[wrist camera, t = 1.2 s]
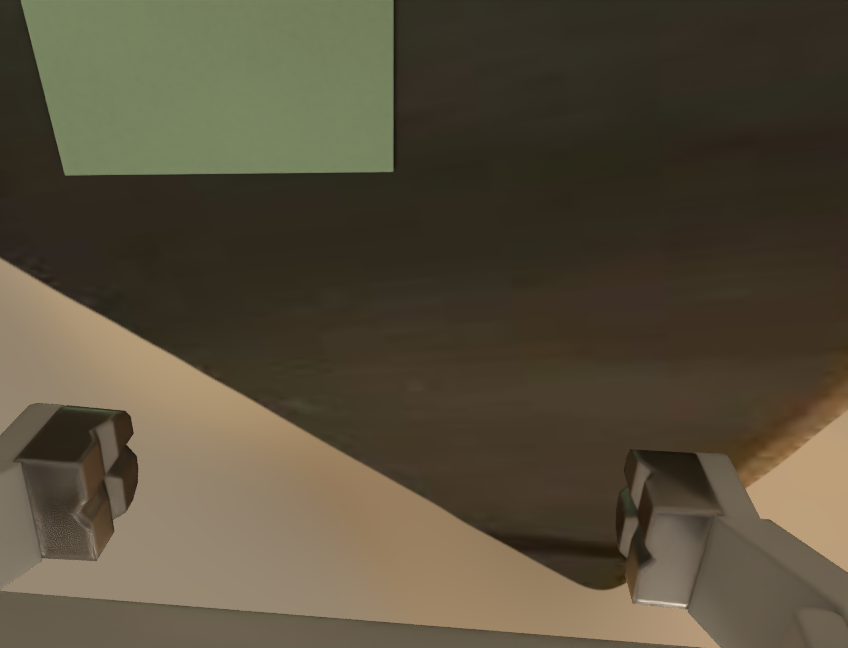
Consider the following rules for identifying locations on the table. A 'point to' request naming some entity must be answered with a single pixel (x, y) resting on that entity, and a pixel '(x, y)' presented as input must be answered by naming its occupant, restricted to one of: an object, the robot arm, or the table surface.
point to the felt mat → (217, 84)
